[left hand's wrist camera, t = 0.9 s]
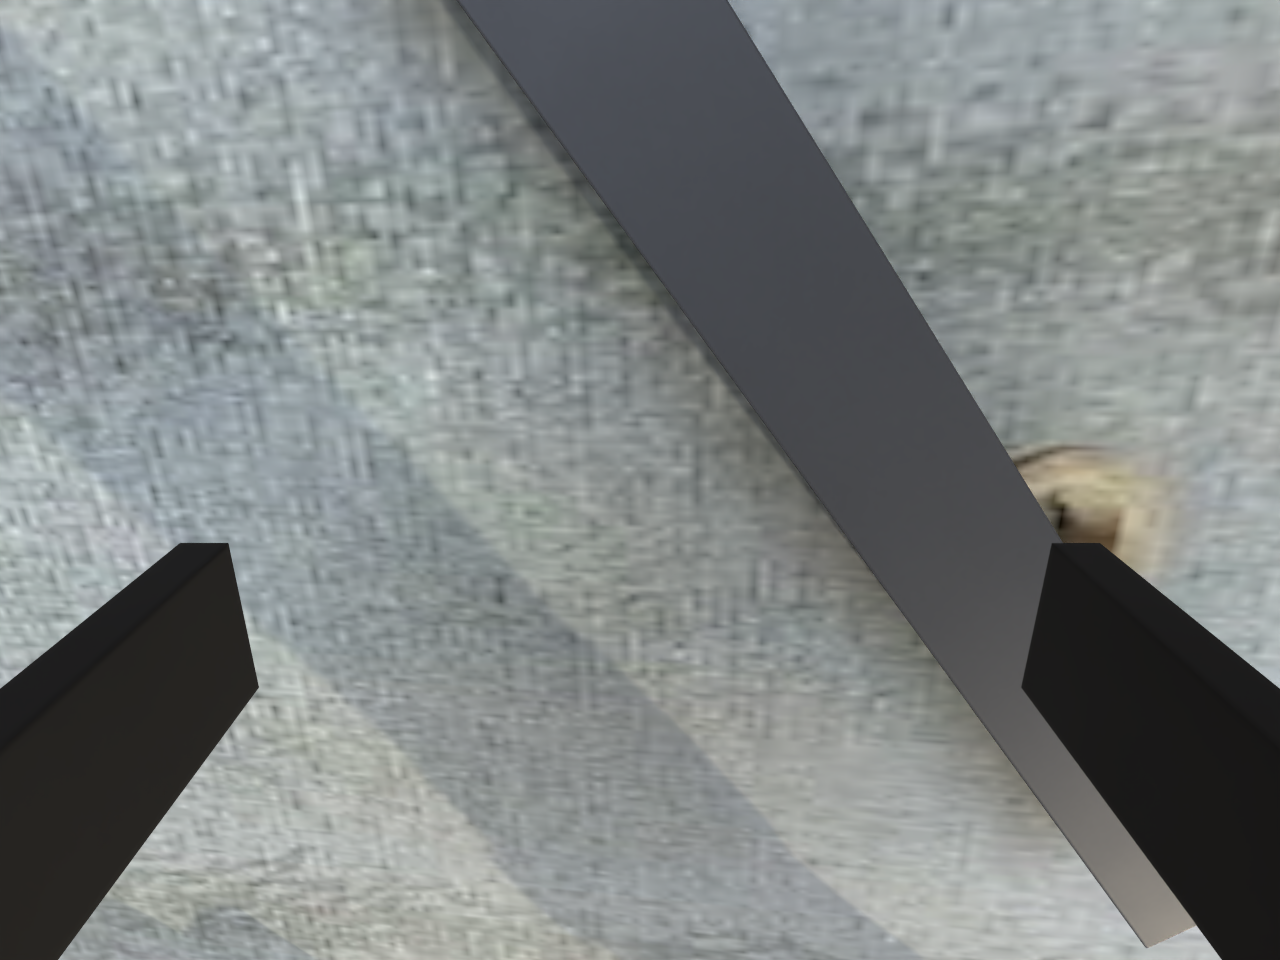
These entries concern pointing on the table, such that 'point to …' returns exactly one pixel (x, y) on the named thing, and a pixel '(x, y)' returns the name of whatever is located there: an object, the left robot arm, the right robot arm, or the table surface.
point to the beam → (821, 354)
